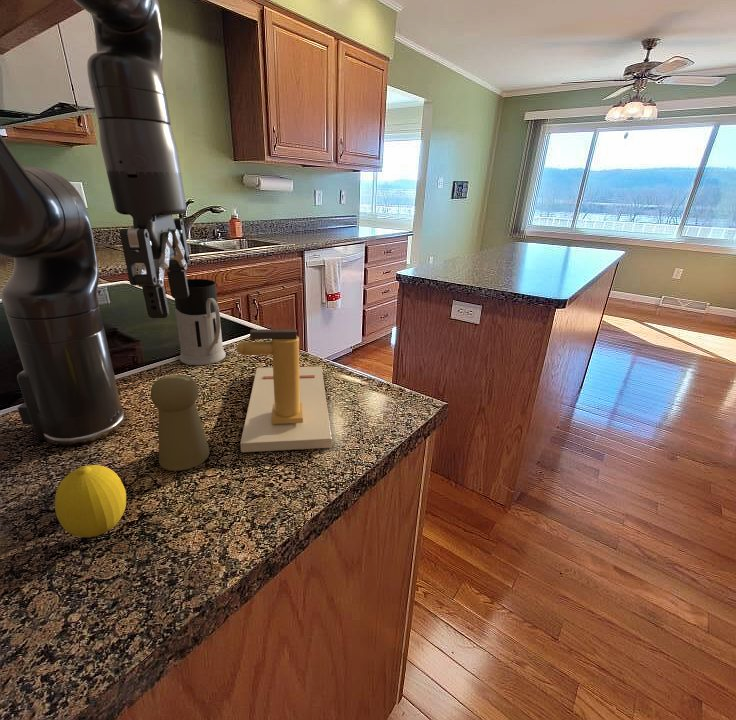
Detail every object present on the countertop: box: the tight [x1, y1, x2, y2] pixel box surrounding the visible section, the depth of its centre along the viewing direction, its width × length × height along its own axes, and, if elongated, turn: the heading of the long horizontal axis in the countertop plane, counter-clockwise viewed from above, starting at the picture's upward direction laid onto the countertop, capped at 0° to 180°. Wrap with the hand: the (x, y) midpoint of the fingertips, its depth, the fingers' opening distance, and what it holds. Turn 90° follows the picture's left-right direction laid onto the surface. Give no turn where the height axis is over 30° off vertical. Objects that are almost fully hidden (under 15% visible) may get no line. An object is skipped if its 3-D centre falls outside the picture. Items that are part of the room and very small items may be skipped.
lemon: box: [54, 464, 127, 538], centre depth 38 cm, size 6×6×8 cm
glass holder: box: [174, 278, 227, 366], centre depth 76 cm, size 9×14×15 cm, turn 42°
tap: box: [236, 328, 303, 424], centre depth 55 cm, size 9×4×13 cm, turn 99°
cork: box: [150, 374, 211, 472], centre depth 49 cm, size 6×6×11 cm
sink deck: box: [239, 365, 333, 453], centre depth 64 cm, size 12×24×2 cm, turn 9°
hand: (171, 306), depth 52 cm, fingers open, 8 cm apart
